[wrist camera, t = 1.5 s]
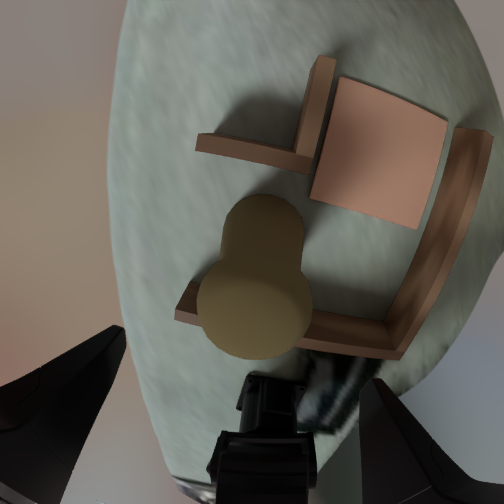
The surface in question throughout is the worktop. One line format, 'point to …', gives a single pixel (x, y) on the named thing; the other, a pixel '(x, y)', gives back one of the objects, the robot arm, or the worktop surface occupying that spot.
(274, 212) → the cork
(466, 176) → the bent channel
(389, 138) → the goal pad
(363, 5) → the worktop surface
